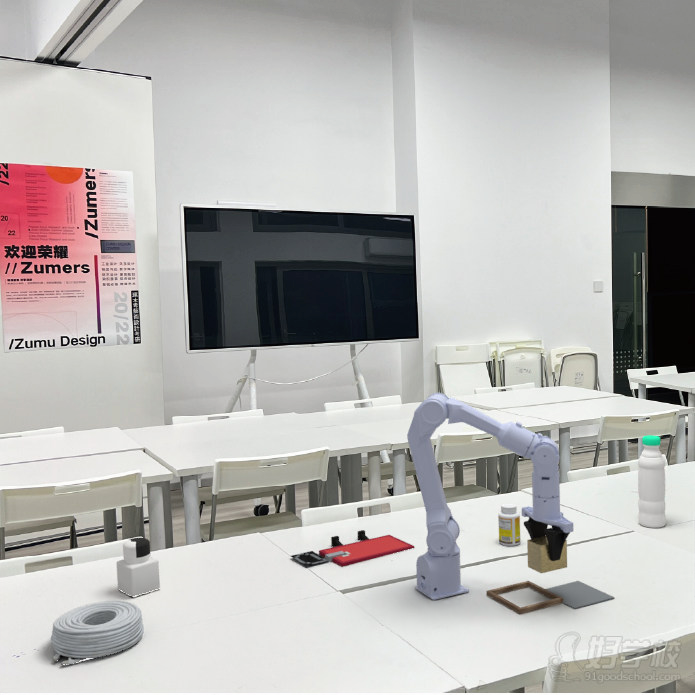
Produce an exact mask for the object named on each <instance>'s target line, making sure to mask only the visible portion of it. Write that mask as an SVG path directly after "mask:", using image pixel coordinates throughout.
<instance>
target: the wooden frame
mask: <svg viewBox="0 0 695 695" xmlns="http://www.w3.org/2000/svg"><path fill="white" fill-rule="evenodd" d="M525 588H529V589H531V590H534V591H535V592H538V593H539V594H542V595H543V596H545V597H547V598H548V600H544V601H541V602H536V603H533V604H529V605H525V606H521V607H520V606H519V605H516V604H515V603H514V602H511V601H510V600H507V599H506V598H504V597H503V596H501V595H500V594H505V593H509V592H513V591H517V590H520V589H525ZM546 589H547V588H544V587H542V586H540V585H538V584H536V583H533V582H532V581H530V580H526V581H521V582H518V583H517V582H516V583H513V584H508V585H506V586H501V587H498V588H493V589H488V590H486V596H487V597H489V598H490V599H493V600H494V601H495V602H498V603H499V604H501V605H502V606H504V607H506V608H508V609H510V610H511V611H513V612H515V613H516V614H518V615H523V614H527V613H530V612H535V611H538V610H543V609H546V608H550V607H553V606H557V605H561V604H563V602H564V598H562V597H560V596H558V595H556V594H554V593H552V592H550V591H548V590H546Z"/></svg>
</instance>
